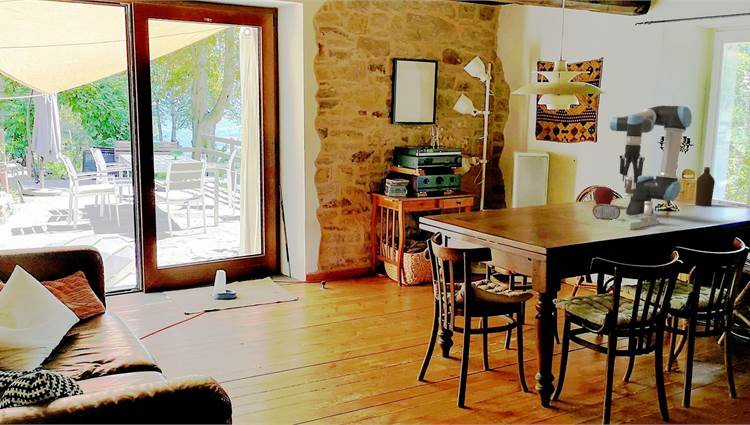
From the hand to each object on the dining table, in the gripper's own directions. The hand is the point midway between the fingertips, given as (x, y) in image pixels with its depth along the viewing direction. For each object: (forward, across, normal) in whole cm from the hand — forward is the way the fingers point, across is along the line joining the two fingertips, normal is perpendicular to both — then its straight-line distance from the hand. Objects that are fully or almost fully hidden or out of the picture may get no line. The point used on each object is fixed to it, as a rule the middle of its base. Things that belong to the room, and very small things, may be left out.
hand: (629, 188), depth 363 cm
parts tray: (+21, 0, 0) cm, 21 cm away
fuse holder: (+21, 0, +16) cm, 26 cm away
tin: (+21, -20, +12) cm, 31 cm away
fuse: (+19, 0, +21) cm, 28 cm away
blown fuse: (+4, 0, 0) cm, 4 cm away
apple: (+21, -46, +48) cm, 69 cm away
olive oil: (+21, -14, +113) cm, 115 cm away
